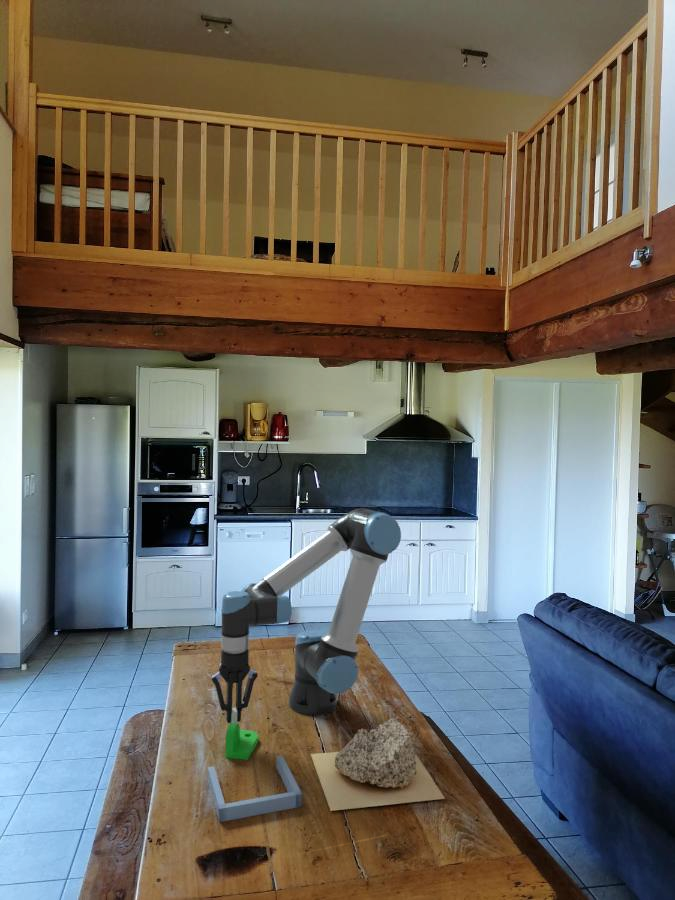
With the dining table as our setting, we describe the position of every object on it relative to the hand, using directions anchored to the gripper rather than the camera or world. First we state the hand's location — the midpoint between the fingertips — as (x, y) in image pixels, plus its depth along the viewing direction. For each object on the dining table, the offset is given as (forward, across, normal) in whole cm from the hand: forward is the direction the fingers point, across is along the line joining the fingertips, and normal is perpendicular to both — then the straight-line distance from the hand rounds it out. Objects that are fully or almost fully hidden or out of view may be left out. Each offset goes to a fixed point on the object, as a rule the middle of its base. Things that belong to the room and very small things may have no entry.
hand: (233, 733), depth 174 cm
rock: (+7, -31, +25) cm, 40 cm away
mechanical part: (+3, -2, +4) cm, 5 cm away
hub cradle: (+3, 0, +25) cm, 25 cm away
